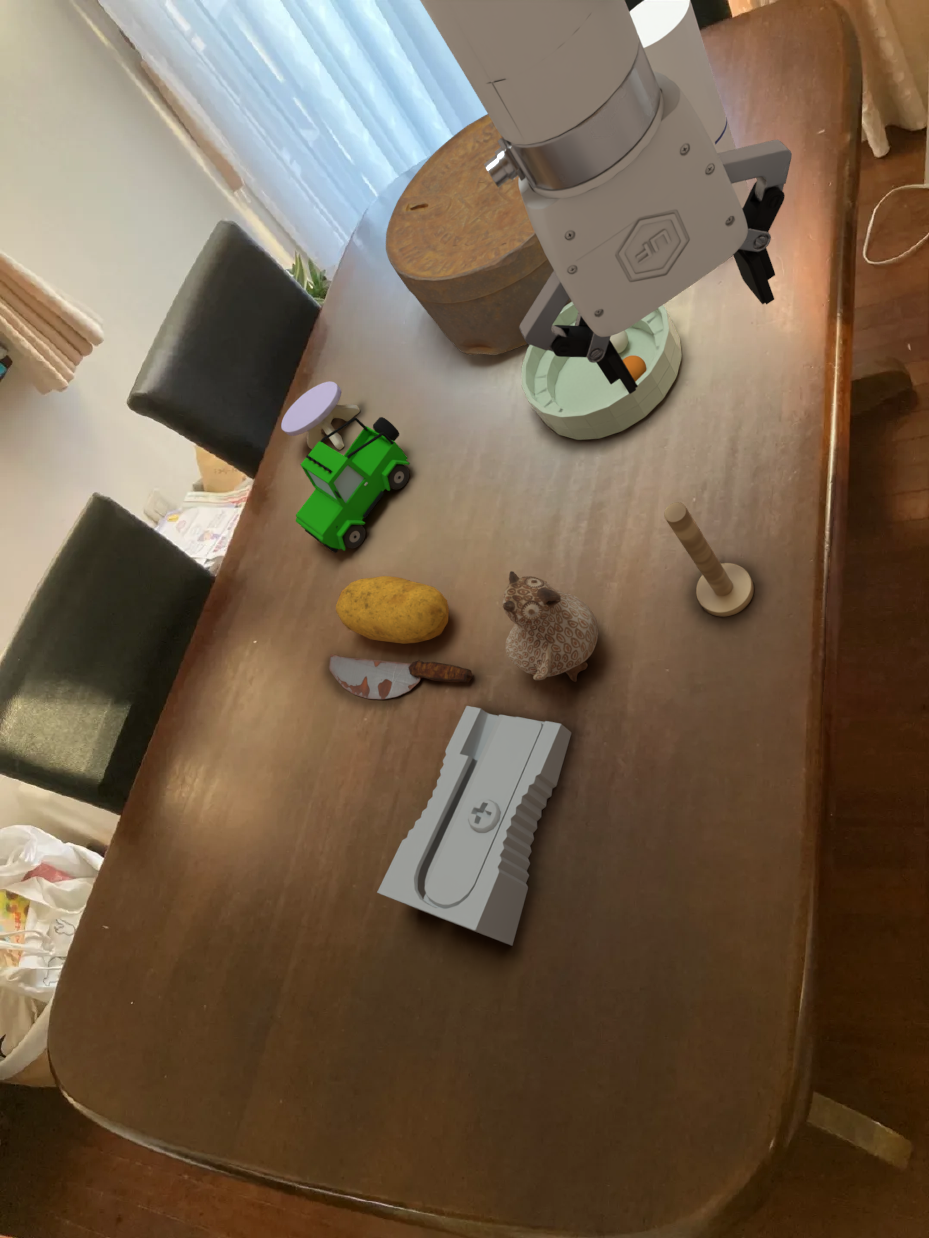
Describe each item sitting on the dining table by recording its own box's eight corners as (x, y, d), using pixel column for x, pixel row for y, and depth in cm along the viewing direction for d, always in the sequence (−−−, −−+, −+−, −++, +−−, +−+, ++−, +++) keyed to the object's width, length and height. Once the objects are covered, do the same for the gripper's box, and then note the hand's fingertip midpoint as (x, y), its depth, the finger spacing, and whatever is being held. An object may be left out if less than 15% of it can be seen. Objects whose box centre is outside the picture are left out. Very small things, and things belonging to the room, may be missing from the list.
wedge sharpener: (417, 909, 79) (374, 899, 74) (478, 713, 85) (442, 691, 79) (512, 945, 73) (472, 938, 68) (571, 731, 78) (539, 708, 73)
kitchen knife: (316, 689, 97) (326, 648, 98) (326, 692, 98) (336, 652, 99) (457, 712, 84) (467, 665, 85) (466, 715, 86) (476, 668, 87)
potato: (376, 588, 100) (340, 562, 94) (472, 599, 91) (438, 571, 86) (355, 642, 98) (317, 619, 92) (451, 659, 89) (415, 635, 84)
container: (496, 397, 101) (432, 311, 90) (414, 306, 119) (352, 224, 108) (677, 239, 97) (634, 129, 86) (564, 169, 115) (516, 70, 104)
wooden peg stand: (765, 582, 74) (720, 498, 63) (731, 626, 74) (680, 550, 63) (720, 559, 77) (669, 475, 66) (688, 601, 77) (632, 524, 66)
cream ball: (627, 322, 93) (608, 319, 91) (637, 343, 92) (618, 340, 90) (611, 340, 95) (592, 337, 93) (620, 361, 94) (601, 358, 93)
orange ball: (625, 388, 89) (616, 361, 88) (621, 388, 92) (612, 362, 91) (652, 377, 88) (643, 350, 88) (647, 377, 91) (638, 351, 90)
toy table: (309, 468, 116) (281, 446, 112) (306, 423, 121) (280, 399, 116) (365, 437, 112) (338, 412, 108) (360, 391, 117) (334, 366, 113)
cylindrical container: (769, 206, 92) (705, -14, 72) (734, 258, 91) (660, 50, 72) (715, 201, 96) (641, -8, 77) (681, 250, 96) (599, 52, 77)
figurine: (617, 694, 77) (549, 633, 66) (526, 704, 82) (447, 650, 71) (617, 607, 81) (552, 536, 70) (529, 622, 86) (455, 558, 74)
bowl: (647, 290, 96) (632, 259, 92) (708, 382, 86) (694, 351, 82) (523, 374, 101) (503, 348, 97) (567, 469, 92) (548, 444, 88)
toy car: (315, 538, 109) (263, 500, 102) (393, 435, 110) (346, 389, 102) (349, 564, 104) (296, 526, 96) (430, 455, 104) (384, 408, 96)
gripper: (459, 265, 42) (596, 447, 55) (778, 18, 36) (847, 286, 49) (426, 192, 46) (561, 377, 59) (707, -39, 40) (787, 222, 53)
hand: (691, 336), depth 54 cm, fingers open, 9 cm apart
